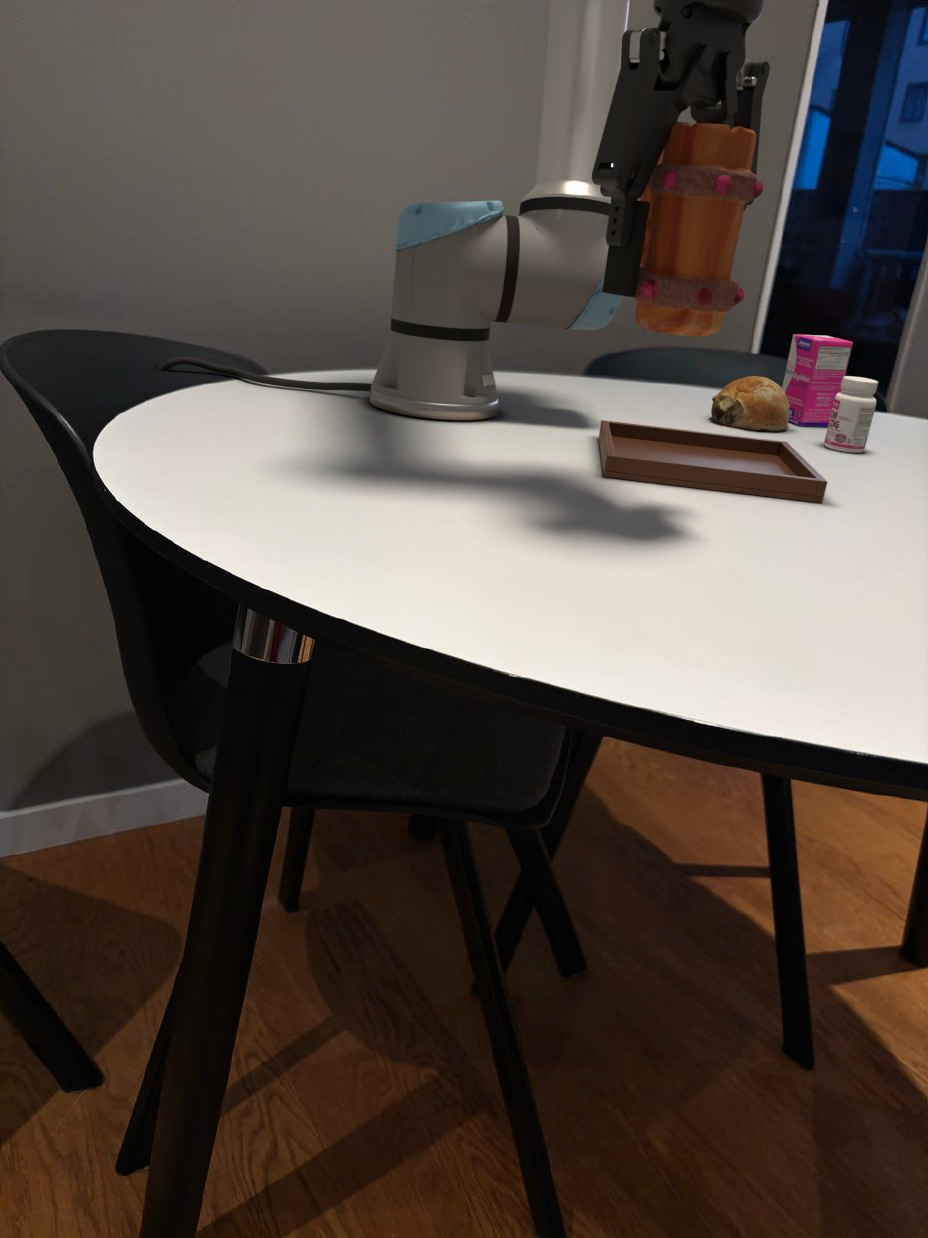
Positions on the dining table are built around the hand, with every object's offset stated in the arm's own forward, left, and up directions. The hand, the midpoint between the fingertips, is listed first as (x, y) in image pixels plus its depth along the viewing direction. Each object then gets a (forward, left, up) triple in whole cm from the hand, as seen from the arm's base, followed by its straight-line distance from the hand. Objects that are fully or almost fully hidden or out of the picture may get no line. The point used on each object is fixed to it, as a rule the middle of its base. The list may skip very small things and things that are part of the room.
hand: (659, 296), depth 76 cm
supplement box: (+28, +59, -17) cm, 68 cm away
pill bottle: (+29, +42, -17) cm, 54 cm away
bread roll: (+19, +52, -17) cm, 58 cm away
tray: (+9, +21, -17) cm, 29 cm away
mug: (+1, +1, -3) cm, 3 cm away
